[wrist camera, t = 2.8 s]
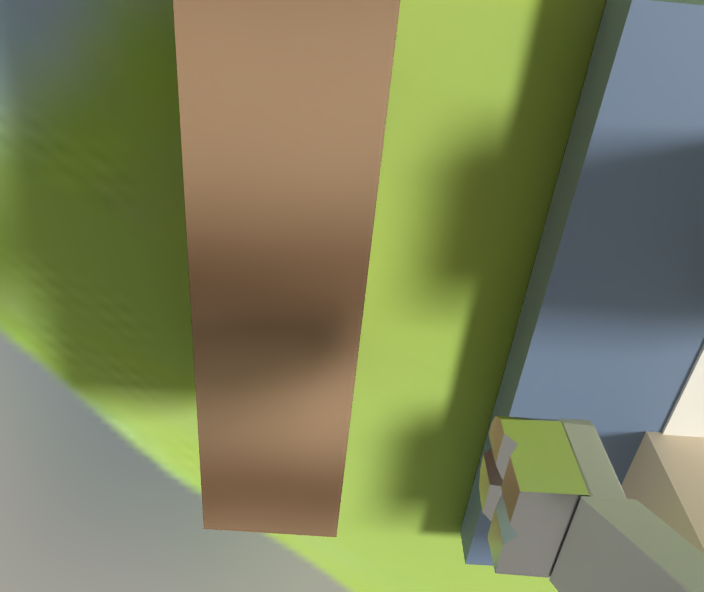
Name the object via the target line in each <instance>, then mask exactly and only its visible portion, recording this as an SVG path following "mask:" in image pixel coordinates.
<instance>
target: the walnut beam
mask: <svg viewBox="0 0 704 592" xmlns="http://www.w3.org/2000/svg"><path fill="white" fill-rule="evenodd" d="M399 6H400V0H173V10H174V27H175V44H176V61H177V78H178V95H179V112H180V129H181V146H182V163H183V181H184V198H185V215H186V232H187V249H188V266H189V283H190V300H191V317H192V334H193V351H194V368H195V386H196V403H197V420H198V437H199V454H200V471H201V488H202V504H203V520H204V521H203V522H204V529H215V530H232V531H248V532H263V533H279V534H295V535H311V536H327V537H336V535H337V527H338V518H339V510H340V502H341V493H342V485H343V476H344V468H345V460H346V451H347V443H348V435H349V426H350V418H351V409H352V401H353V393H354V384H355V376H356V367H357V359H358V351H359V342H360V334H361V325H362V317H363V309H364V300H365V292H366V283H367V275H368V267H369V258H370V250H371V241H372V233H373V225H374V216H375V208H376V200H377V191H378V183H379V174H380V166H381V158H382V149H383V141H384V132H385V124H386V116H387V107H388V99H389V90H390V82H391V74H392V65H393V57H394V48H395V40H396V32H397V23H398V15H399Z"/></svg>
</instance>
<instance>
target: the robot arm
mask: <svg viewBox="0 0 704 592" xmlns="http://www.w3.org/2000/svg"><path fill="white" fill-rule="evenodd" d="M489 438H490V443H491V447H492V448H491V449H490V450H488V451H487V452H486V453H484V454H483V459H482V463H481V468H480V481H479V490H480V501H481V506H482V511H483V513H484V515H485V516H486V517H487V518H488V519H489V520H490V521H491V525H490V529H489V533H488V536H487V537H488V541H489V546H490V551H491V556H492V560H493V565H494V570H495V573H499V574H511V575H524V576H537V577H549V578H550V582H551V583H552V584H553V585H554V586H555V588H556V589H557V590H558V591H559V592H704V554H703V553H702V552H701V551H700V550H698V549H697V548H696V547H695V546H693V545H692V544H691V543H690V542H688V541H687V540H686V539H685V538H683V537H682V536H681V535H680V534H678V533H677V532H676V531H675V530H674V529H672V528H671V527H670V526H669V525H667V524H666V523H665V522H664V521H662V520H661V519H660V518H659V517H657V516H656V515H655V514H654V513H652V512H651V511H650V510H649V509H647V508H646V507H645V506H644V505H642V504H641V503H640V502H639V501H637V500H636V499H627V498H626V496H625V494H624V491H623V489H622V487H621V485H620V482H619V480H618V478H617V476H616V473H615V471H614V469H613V467H612V464H611V462H610V460H609V458H608V455H607V453H606V451H605V449H604V446H603V444H602V442H601V440H600V438H599V435H598V433H597V431H596V429H595V426H594V424H593V423H591V422H590V421H589V420H578V419H557V420H556V419H545V418H526V417H507V416H495V418H494V419H493V421H492V423H491V427H490V431H489Z"/></svg>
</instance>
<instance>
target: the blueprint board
mask: <svg viewBox="0 0 704 592" xmlns="http://www.w3.org/2000/svg"><path fill="white" fill-rule="evenodd" d="M495 416H507V417H526V418H545V419H556V420H557V419H578V420H589V421H590V422H591V423H593V424H594V426H595V429H596V431H597V433H598V435H599V438H600V440H601V442H602V444H603V446H604V449H605V451H606V453H607V455H608V458H609V460H610V462H611V464H612V467H613V469H614V471H615V473H616V476H617V478H618V480H619V482H620V485H621V487H622V489H623V491H624V494H625V496H626V498H627V499H636V500H637V501H639V502H640V503H641V504H642V505H644V506H645V507H646V508H647V509H649V510H650V511H651V512H652V513H654V514H655V515H656V516H657V517H659V518H660V519H661V520H662V521H664V522H665V523H666V524H667V525H669V526H670V527H671V528H672V529H674V530H675V531H676V532H677V533H678V534H680V535H681V536H682V537H683V538H685V539H686V540H687V541H688V542H690V543H691V544H692V545H693V546H695V547H696V548H697V549H698V550H700V551H701V552H702V553H703V554H704V0H607V1H606V5H605V8H604V12H603V16H602V19H601V23H600V26H599V30H598V34H597V37H596V41H595V45H594V48H593V52H592V55H591V59H590V63H589V66H588V70H587V73H586V77H585V81H584V84H583V88H582V92H581V95H580V99H579V102H578V106H577V110H576V113H575V117H574V121H573V124H572V128H571V131H570V135H569V139H568V142H567V146H566V150H565V153H564V157H563V160H562V164H561V168H560V171H559V175H558V179H557V182H556V186H555V189H554V193H553V197H552V200H551V204H550V208H549V211H548V215H547V218H546V222H545V226H544V229H543V233H542V237H541V240H540V244H539V247H538V251H537V255H536V258H535V262H534V265H533V269H532V273H531V276H530V280H529V284H528V287H527V291H526V294H525V298H524V302H523V305H522V309H521V313H520V316H519V320H518V323H517V327H516V331H515V334H514V338H513V342H512V345H511V349H510V352H509V356H508V360H507V363H506V367H505V371H504V374H503V378H502V381H501V385H500V389H499V392H498V396H497V400H496V403H495V407H494V410H493V414H492V418H491V421H490V425H489V429H488V432H487V436H486V439H485V443H484V447H483V450H482V454H481V457H480V461H479V465H478V468H477V472H476V476H475V479H474V483H473V486H472V490H471V494H470V497H469V501H468V505H467V508H466V512H465V515H464V519H463V523H462V526H461V530H460V531H461V538H462V545H463V552H464V558H465V564H475V565H492V566H494V565H493V560H492V556H491V551H490V546H489V541H488V537H487V536H488V533H489V529H490V525H491V521H490V520H489V519H488V518H487V517H486V516H485V515H484V513H483V511H482V506H481V501H480V490H479V481H480V468H481V463H482V459H483V454H484V453H486V452H487V451H488V450H490V449H491V448H492V447H491V443H490V438H489V431H490V427H491V423H492V421H493V419H494V418H495Z"/></svg>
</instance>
